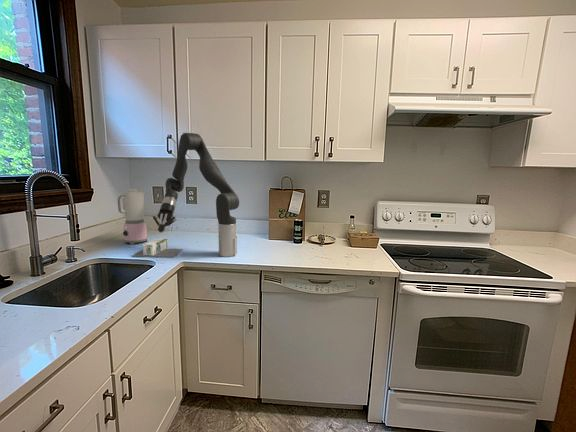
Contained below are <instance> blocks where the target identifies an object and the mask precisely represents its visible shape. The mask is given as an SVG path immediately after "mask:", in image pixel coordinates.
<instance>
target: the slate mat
mask: <svg viewBox="0 0 576 432" xmlns="http://www.w3.org/2000/svg"><path fill="white" fill-rule="evenodd" d="M182 251H183V248H167V249H165V250H163V251H161V252H159V253H157V254H155V255H153V256H152V255H143V248H142V249H141V250H139V251H137V252H136V253H134V254H132V255H131V257H132V258H170V259H171V258H172V259H173V258H176V256H177V255H178V254H179V253H181V252H182Z"/></svg>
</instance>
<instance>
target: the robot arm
mask: <svg viewBox="0 0 576 432" xmlns="http://www.w3.org/2000/svg"><path fill="white" fill-rule="evenodd" d="M188 151H195V152H196V153H197V155H198V157H199V165H198V168H199V171H200V173H201V174H202V176H203V178H204V179H205V181H206V182H208V183H209V184H210V185H211V186H213V187H214V188H215V189H217V190H218V191H219V192H220V193H218V194H217V197H216V200H215V209H216V210H215V211H216V218H217V222H218V223H217V226H218V256H220V257H225V258H226V257H227V258H229V257H236V255H237V253H238V248H237V247H238V243H237V242H238V238H237V237H238V236H237V219H236V217H235V216H232V215H231V212H230V211H232V210H237V209H238V208H239V206H240V199H239V197H238V194H237V193H236V192H235V191H234V189H233V187H231V186H230V184H229V183H228V181H227V179H226V178H225V176H224V175H223V174H222V172H221V170H220V168H219V167H218V165H217V164H216V162H215V160H214V159H213V157H212V155H211V154H210V152H209V150H208V148H207V146H206V144H205V141H204V139H203V138H202V137H201V135H200V134H198V133H195V132H194V133H192V132H183V133H182V134H181V135H180V138H179V142H178V149H177V155H176V160H175V165H174V167H173V170H172V173H171V175H172V177H169V178H166V180H165V194H164V197H163V199H162V201H161V205H160V208H159V212H158V213H157V215H154V216H152V218H153V220H154V222H155V223H156V225H157V226H158V229H157V231H158V232H159V233H163V232H164V231H165V229H166V227H169V226H171V225H172V224H173V223H174V222H176V221H177V219H176V217H175V216H174V213H175V209H176V208H177V207H176V205H177V200H178V197H179V194H178V193H181V192H182V191H184V188H185V187H184V185H185V177H186V174H187V172H188V161H187V157H186V155H187V152H188ZM158 220H159V221H158Z"/></svg>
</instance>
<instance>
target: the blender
mask: <svg viewBox="0 0 576 432" xmlns="http://www.w3.org/2000/svg"><path fill="white" fill-rule="evenodd" d="M117 208H118V212H119V213H120V214H124V218H125V222H124V224H123V231H122V235H123V236H124V244H127V243H129V244H130V245H131V246H133V245H135V244H137V243H142V242H146V243H148V234H147V233H148V231H147V223H146V222H145V219H144V217H145V195H144V191H141V190H139V189H134V188H132V189H127V191H123V192H122V193H121V195H120V196H118V197H117Z"/></svg>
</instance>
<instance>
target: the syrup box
mask: <svg viewBox="0 0 576 432" xmlns="http://www.w3.org/2000/svg"><path fill="white" fill-rule="evenodd" d="M168 239H169V238H163V237H157V238H155V239H152V240H150V241H149V242H148V241H147V242H146V243H143V244H142V249H143V255H152V256H153V255H155V254H157V253H159V252H161V251H163V250H165V249H169V245H168V244H169V242H168V241H169V240H168Z"/></svg>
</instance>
